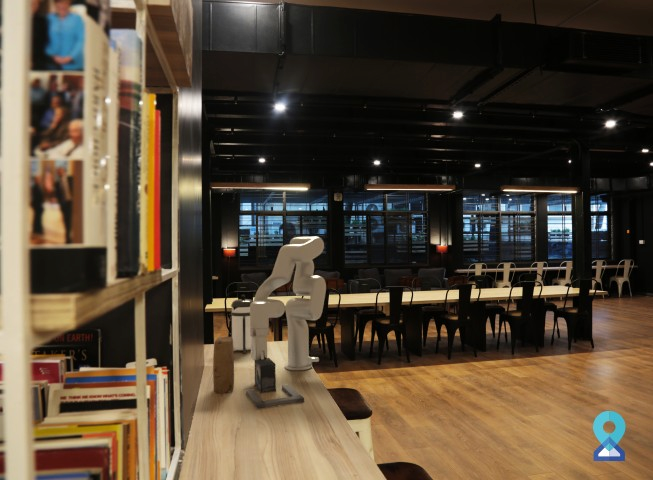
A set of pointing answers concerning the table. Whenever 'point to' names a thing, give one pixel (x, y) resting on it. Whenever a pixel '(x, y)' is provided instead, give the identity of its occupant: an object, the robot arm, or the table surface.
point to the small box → (265, 375)
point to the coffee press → (241, 324)
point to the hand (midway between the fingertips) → (259, 377)
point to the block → (223, 365)
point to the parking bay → (259, 403)
